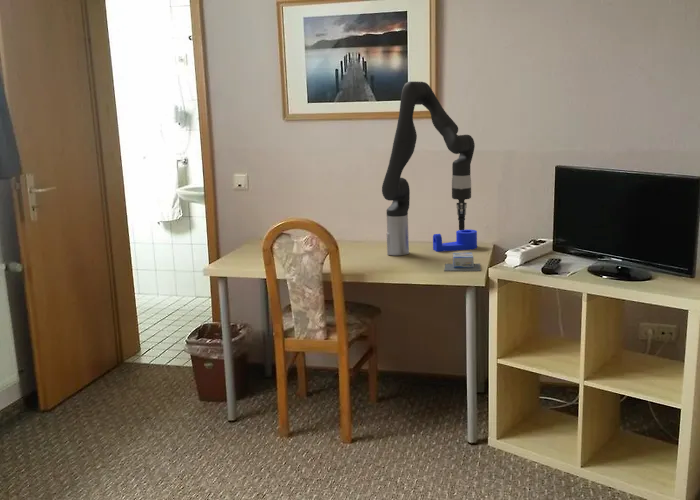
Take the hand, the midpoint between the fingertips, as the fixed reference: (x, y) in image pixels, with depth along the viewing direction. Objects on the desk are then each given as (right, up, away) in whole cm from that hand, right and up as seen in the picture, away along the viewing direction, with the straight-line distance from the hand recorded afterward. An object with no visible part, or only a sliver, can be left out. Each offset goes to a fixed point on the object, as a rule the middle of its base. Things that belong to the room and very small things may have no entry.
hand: (461, 229), depth 284 cm
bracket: (+3, -8, +35) cm, 36 cm away
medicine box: (+1, -11, +6) cm, 13 cm away
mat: (0, -15, 0) cm, 15 cm away
